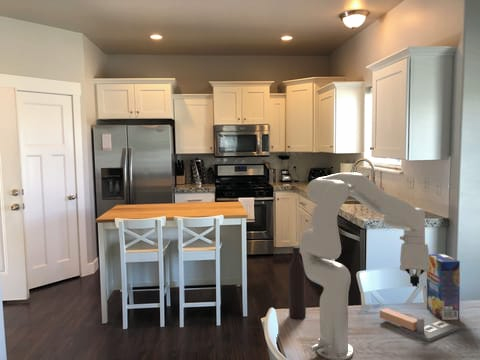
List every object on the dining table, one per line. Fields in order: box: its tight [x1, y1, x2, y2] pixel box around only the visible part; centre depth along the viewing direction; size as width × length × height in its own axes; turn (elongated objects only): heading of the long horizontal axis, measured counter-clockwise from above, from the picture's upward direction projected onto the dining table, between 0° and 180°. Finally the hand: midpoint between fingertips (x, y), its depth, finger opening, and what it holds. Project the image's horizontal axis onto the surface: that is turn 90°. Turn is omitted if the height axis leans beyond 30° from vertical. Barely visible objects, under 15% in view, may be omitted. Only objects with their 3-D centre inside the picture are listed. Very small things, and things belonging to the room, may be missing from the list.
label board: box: [399, 315, 459, 343], centre depth 144 cm, size 18×12×6 cm, turn 119°
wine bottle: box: [287, 246, 307, 320], centre depth 159 cm, size 7×7×30 cm
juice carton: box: [426, 253, 461, 321], centre depth 157 cm, size 12×8×24 cm, turn 0°
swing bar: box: [379, 307, 417, 331], centre depth 147 cm, size 14×4×3 cm, turn 33°
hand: (414, 285), depth 147 cm, fingers closed
